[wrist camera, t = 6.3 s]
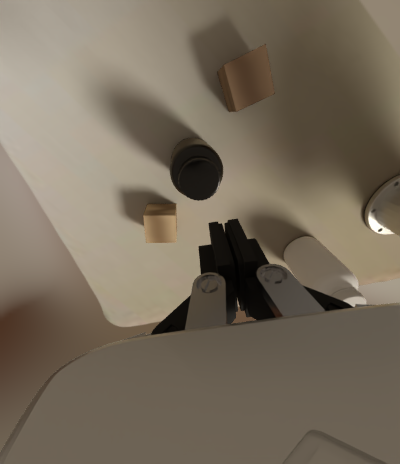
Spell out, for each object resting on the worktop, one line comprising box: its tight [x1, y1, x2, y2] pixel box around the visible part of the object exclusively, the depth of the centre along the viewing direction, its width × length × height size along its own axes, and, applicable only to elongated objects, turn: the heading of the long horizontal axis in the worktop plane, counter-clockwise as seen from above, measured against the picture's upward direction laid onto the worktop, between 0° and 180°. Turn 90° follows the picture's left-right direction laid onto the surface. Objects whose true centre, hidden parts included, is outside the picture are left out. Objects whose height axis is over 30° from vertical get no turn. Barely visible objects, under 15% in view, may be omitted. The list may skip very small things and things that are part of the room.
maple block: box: [143, 204, 177, 243], centre depth 36 cm, size 5×5×5 cm
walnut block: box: [217, 44, 275, 112], centre depth 27 cm, size 5×5×5 cm
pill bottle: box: [284, 236, 366, 307], centre depth 38 cm, size 8×8×15 cm
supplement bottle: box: [170, 138, 223, 201], centre depth 28 cm, size 7×7×12 cm
